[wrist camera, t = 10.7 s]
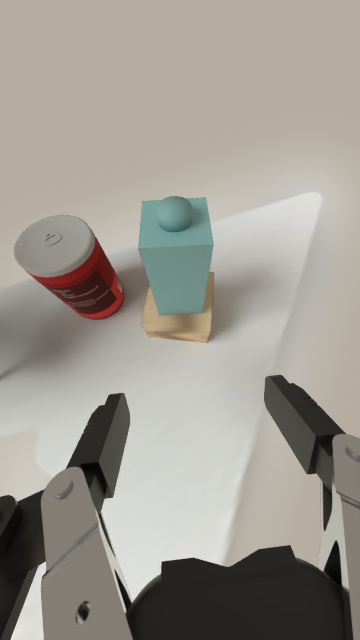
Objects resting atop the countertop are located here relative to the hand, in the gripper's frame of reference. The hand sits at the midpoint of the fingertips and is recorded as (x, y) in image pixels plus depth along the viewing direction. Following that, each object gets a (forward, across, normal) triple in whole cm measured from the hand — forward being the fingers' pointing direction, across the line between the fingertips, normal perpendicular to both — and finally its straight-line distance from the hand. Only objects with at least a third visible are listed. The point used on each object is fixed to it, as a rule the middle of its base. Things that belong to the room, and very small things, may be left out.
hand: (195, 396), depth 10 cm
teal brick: (+14, 0, -3) cm, 14 cm away
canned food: (+20, +12, -2) cm, 24 cm away
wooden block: (+17, 0, +1) cm, 17 cm away
